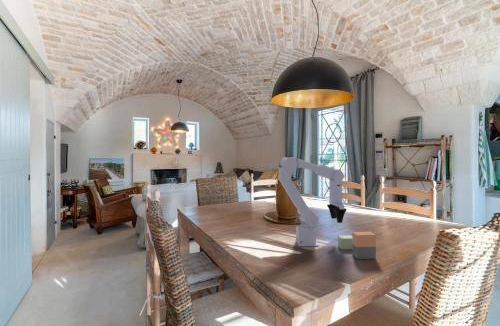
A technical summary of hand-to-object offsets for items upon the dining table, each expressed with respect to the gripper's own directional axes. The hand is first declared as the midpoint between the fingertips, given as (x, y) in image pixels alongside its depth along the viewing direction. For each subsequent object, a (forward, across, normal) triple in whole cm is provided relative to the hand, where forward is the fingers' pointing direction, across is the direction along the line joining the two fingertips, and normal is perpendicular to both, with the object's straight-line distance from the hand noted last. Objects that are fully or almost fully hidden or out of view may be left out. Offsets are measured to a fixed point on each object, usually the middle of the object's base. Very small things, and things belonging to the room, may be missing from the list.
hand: (336, 220), depth 122 cm
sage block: (+11, -8, -2) cm, 13 cm away
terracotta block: (+6, -19, -4) cm, 20 cm away
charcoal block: (+10, -19, -4) cm, 22 cm away
